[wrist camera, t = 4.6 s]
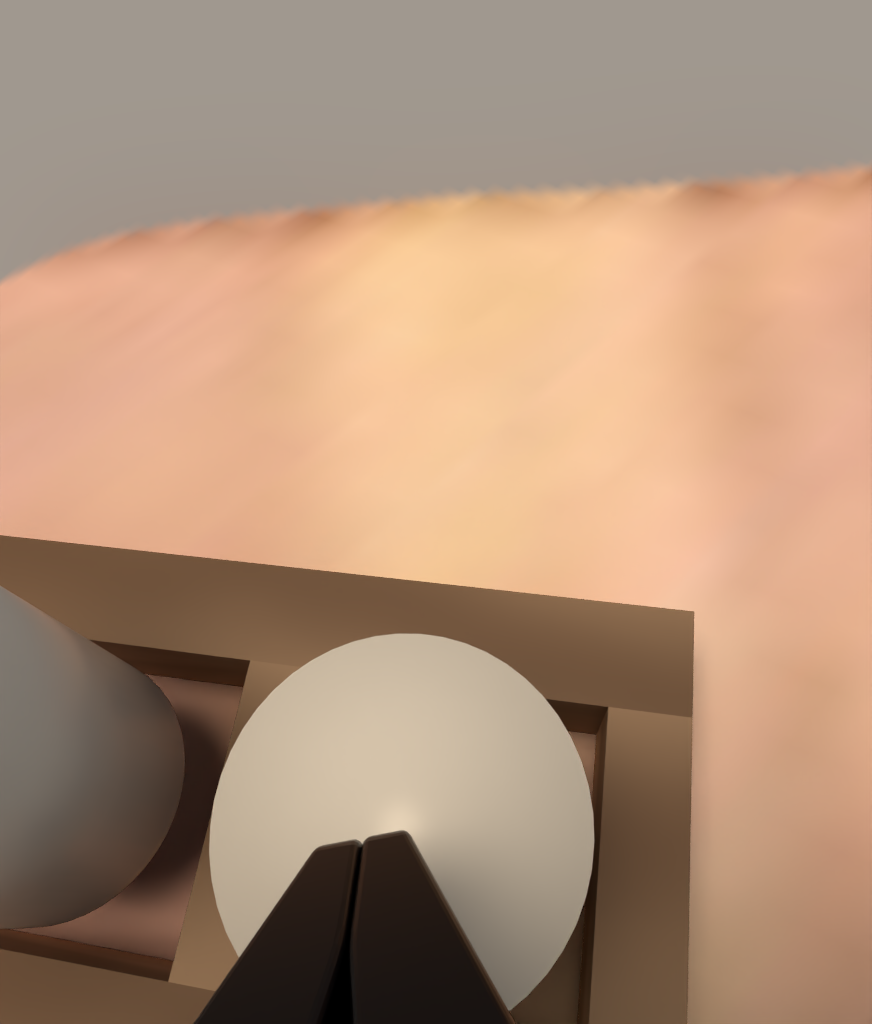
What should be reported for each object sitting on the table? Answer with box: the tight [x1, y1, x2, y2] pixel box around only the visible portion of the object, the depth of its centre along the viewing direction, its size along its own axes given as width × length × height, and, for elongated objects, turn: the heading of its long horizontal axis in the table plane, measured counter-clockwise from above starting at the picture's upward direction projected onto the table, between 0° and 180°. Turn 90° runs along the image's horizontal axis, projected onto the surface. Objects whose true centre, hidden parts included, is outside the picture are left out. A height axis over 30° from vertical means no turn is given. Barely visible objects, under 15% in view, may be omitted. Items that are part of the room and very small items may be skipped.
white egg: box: [209, 634, 594, 1011], centre depth 12 cm, size 4×4×6 cm
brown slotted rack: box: [0, 535, 694, 1024], centre depth 15 cm, size 9×21×2 cm, turn 81°
